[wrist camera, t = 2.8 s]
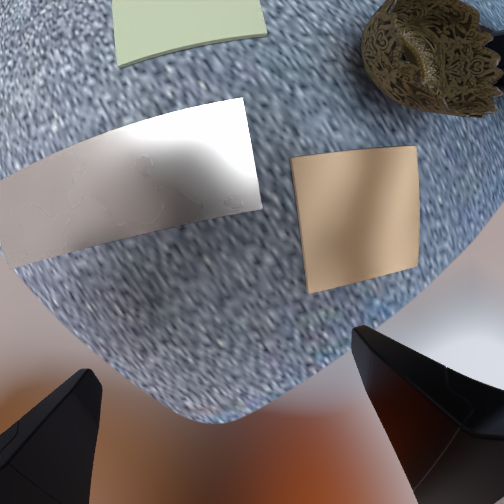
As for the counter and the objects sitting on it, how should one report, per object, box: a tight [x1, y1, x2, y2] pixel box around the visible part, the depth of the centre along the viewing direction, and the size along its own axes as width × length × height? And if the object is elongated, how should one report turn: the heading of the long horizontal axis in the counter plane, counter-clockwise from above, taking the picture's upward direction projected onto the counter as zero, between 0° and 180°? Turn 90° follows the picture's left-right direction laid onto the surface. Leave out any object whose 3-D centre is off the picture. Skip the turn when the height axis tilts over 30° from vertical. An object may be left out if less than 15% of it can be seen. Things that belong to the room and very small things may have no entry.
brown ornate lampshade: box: [361, 0, 503, 118], centre depth 11 cm, size 8×7×8 cm
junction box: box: [0, 98, 263, 269], centre depth 12 cm, size 10×5×10 cm, turn 100°
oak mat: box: [289, 146, 420, 294], centre depth 18 cm, size 9×9×1 cm
